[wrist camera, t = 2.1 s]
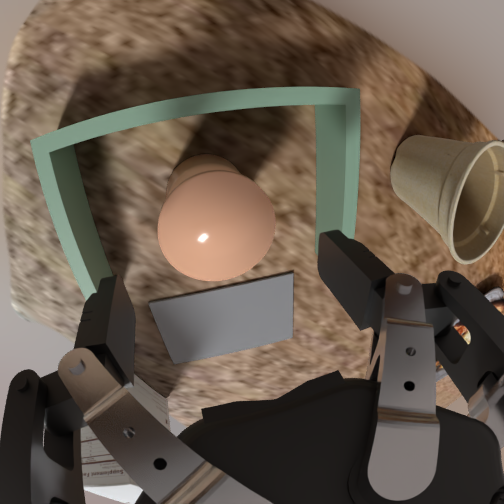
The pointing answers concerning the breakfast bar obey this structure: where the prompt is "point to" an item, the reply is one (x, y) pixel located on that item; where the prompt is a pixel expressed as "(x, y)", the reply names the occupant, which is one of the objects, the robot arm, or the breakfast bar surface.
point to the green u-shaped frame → (62, 141)
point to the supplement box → (104, 465)
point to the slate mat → (226, 318)
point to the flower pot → (454, 190)
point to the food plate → (496, 299)
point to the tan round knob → (214, 220)
